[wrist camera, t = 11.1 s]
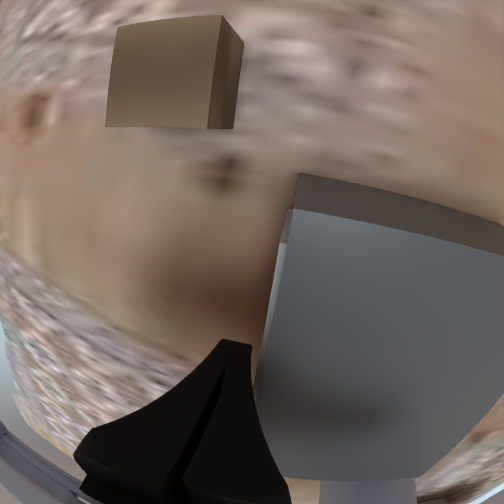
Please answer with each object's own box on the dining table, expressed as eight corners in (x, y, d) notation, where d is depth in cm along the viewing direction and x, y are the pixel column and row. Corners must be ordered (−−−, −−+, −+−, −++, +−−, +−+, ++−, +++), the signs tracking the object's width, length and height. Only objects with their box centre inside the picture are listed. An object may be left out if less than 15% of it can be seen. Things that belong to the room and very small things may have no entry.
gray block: (407, 409, 17) (419, 477, 11) (257, 393, 18) (239, 469, 13) (501, 224, 11) (570, 277, 6) (298, 172, 12) (292, 208, 7)
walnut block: (233, 128, 12) (206, 129, 9) (150, 124, 12) (105, 127, 9) (244, 42, 10) (221, 15, 7) (159, 44, 11) (117, 27, 7)
